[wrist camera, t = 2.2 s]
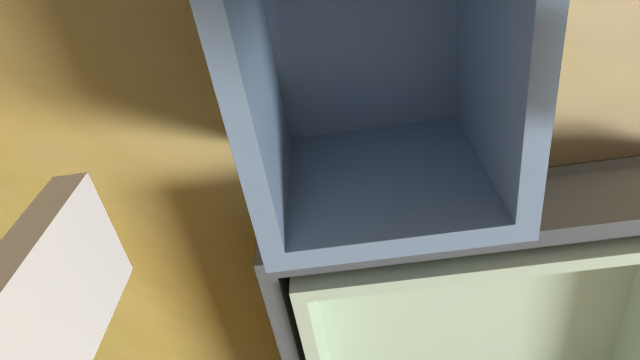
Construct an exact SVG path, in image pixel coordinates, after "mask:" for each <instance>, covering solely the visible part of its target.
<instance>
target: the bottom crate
mask: <svg viewBox="0 0 640 360" xmlns="http://www.w3.org/2000/svg"><path fill="white" fill-rule="evenodd" d="M639 235H640V156H635V157H627V158H619V159H611V160H604V161H596V162H588V163H580V164H573V165H565V166H557V167H549V168H548V170H547V178H546V186H545V193H544V201H543V209H542V217H541V224H540V232H539V240H538V241H529V242H521V243H513V244H504V245H496V246H488V247H480V248H471V249H463V250H455V251H446V252H438V253H430V254H421V255H413V256H405V257H396V258H388V259H380V260H372V261H363V262H355V263H347V264H338V265H330V266H322V267H313V268H305V269H297V270H288V271H280V272H272V273H266V271H265V268H264V264H263V261H262V257H261V254H260V250H259V247H258V243H256V251H255V258H254V270H255V273H256V276H257V280H258V283H259V286H260V290H261V293H262V296H263V300H264V303H265V306H266V310H267V313H268V316H269V320H270V323H271V326H272V330H273V333H274V337H275V340H276V343H277V347H278V350H279V353H280V357H281V360H306V358H305V354H304V350H303V346H302V342H301V338H300V334H299V331H298V327H297V323H296V319H295V315H294V311H293V307H292V303H291V299H290V295H289V285H290V277H294V276H303V275H311V274H319V273H328V272H336V271H345V270H353V269H361V268H370V267H378V266H387V265H395V264H403V263H412V262H420V261H429V260H437V259H445V258H454V257H462V256H471V255H479V254H487V253H496V252H504V251H513V250H521V249H529V248H538V247H546V246H555V245H563V244H571V243H580V242H588V241H597V240H605V239H613V238H622V237H630V236H639Z"/></svg>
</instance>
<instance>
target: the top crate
mask: <svg viewBox="0 0 640 360" xmlns="http://www.w3.org/2000/svg"><path fill="white" fill-rule="evenodd" d="M289 295H290V299H291V303H292V307H293V311H294V315H295V319H296V323H297V327H298V331H299V334H300V338H301V342H302V346H303V350H304V354H305V358H306V360H640V235H639V236H630V237H622V238H613V239H605V240H597V241H588V242H580V243H571V244H563V245H555V246H546V247H538V248H529V249H521V250H513V251H504V252H496V253H487V254H479V255H471V256H462V257H454V258H445V259H437V260H429V261H420V262H412V263H403V264H395V265H387V266H378V267H370V268H361V269H353V270H345V271H336V272H328V273H319V274H311V275H303V276H294V277H290V285H289Z"/></svg>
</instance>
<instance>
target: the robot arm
mask: <svg viewBox="0 0 640 360" xmlns="http://www.w3.org/2000/svg"><path fill="white" fill-rule="evenodd" d="M132 270H133V268H132V266H131V264H130V262H129V260H128V258H127V255H126V253H125V251H124V249H123V247H122V245H121V243H120V241H119V238H118V236H117V234H116V232H115V230H114V228H113V226H112V224H111V221H110V219H109V217H108V215H107V213H106V211H105V209H104V206H103V204H102V202H101V200H100V198H99V196H98V194H97V192H96V189H95V187H94V185H93V183H92V181H91V179H90V177H89V175H88V172H86V173H79V174H71V175H64V176H57V177H52V179H51V180H50V181H49V182H48V183H47V185H46V186H45V187H44V188H43V189H42V191H41V192H40V193H39V194H38V196H37V197H36V198H35V199H34V200H33V202H32V203H31V204H30V205H29V206H28V208H27V209H26V210H25V211H24V213H23V214H22V215H21V216H20V217H19V219H18V220H17V221H16V222H15V224H14V225H13V226H12V227H11V228H10V230H9V231H8V232H7V233H6V234H5V236H4V237H3V238H2V239H1V241H0V360H93V359H94V356H95V354H96V352H97V350H98V347H99V345H100V343H101V340H102V338H103V336H104V334H105V331H106V329H107V327H108V324H109V322H110V320H111V318H112V315H113V313H114V311H115V308H116V306H117V304H118V302H119V299H120V297H121V295H122V292H123V290H124V288H125V286H126V283H127V281H128V279H129V276H130V274H131V272H132Z"/></svg>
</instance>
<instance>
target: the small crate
mask: <svg viewBox="0 0 640 360" xmlns="http://www.w3.org/2000/svg"><path fill="white" fill-rule="evenodd" d="M189 2H190V6H191V9H192V13H193V16H194V20H195V24H196V27H197V31H198V34H199V38H200V41H201V45H202V48H203V52H204V55H205V59H206V62H207V66H208V70H209V73H210V77H211V80H212V84H213V87H214V91H215V94H216V98H217V101H218V105H219V108H220V112H221V116H222V119H223V123H224V126H225V130H226V133H227V137H228V140H229V144H230V147H231V151H232V155H233V158H234V162H235V165H236V169H237V172H238V176H239V179H240V183H241V186H242V190H243V193H244V197H245V201H246V204H247V208H248V211H249V215H250V218H251V222H252V225H253V229H254V232H255V236H256V239H257V243H258V247H259V250H260V254H261V257H262V261H263V264H264V268H265V271H266V273H272V272H280V271H288V270H297V269H305V268H313V267H322V266H330V265H338V264H347V263H355V262H363V261H372V260H380V259H388V258H396V257H405V256H413V255H421V254H430V253H438V252H446V251H455V250H463V249H471V248H480V247H488V246H496V245H504V244H513V243H521V242H529V241H538V240H539V232H540V224H541V217H542V209H543V201H544V193H545V186H546V178H547V170H548V162H549V155H550V147H551V139H552V132H553V124H554V116H555V108H556V101H557V93H558V85H559V78H560V70H561V62H562V54H563V47H564V39H565V31H566V24H567V16H568V8H569V0H189Z"/></svg>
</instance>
